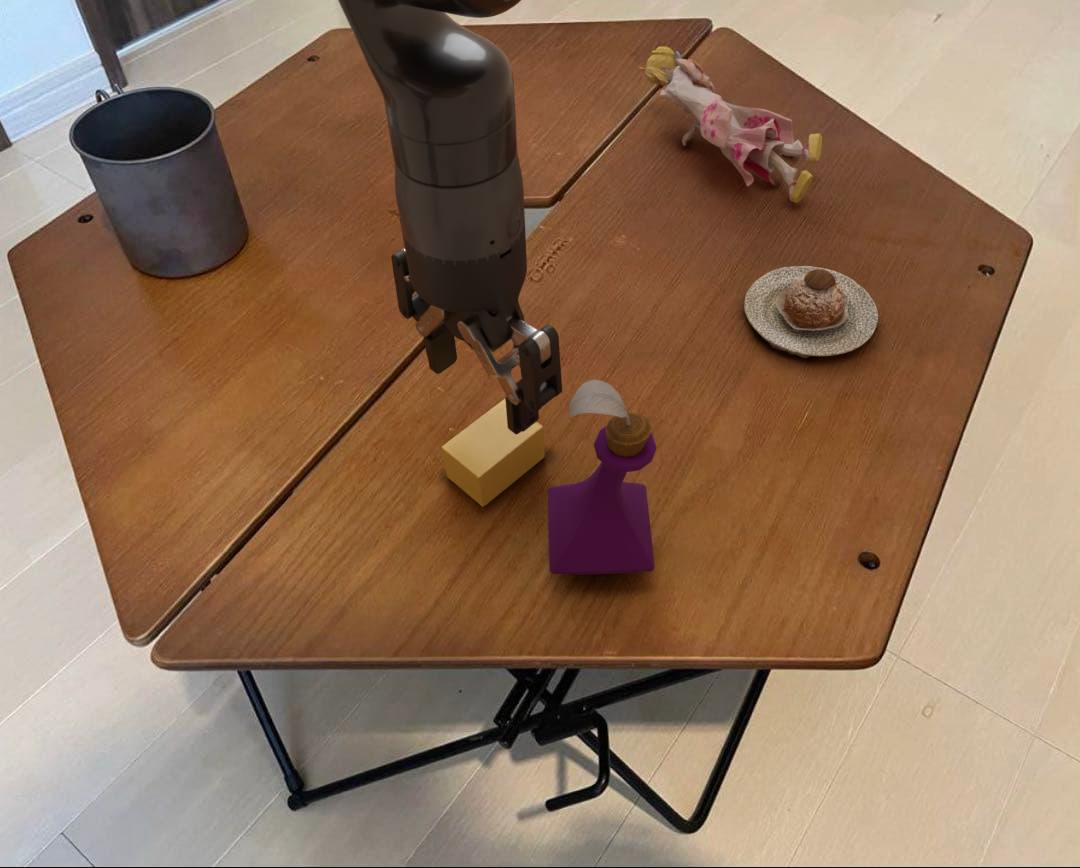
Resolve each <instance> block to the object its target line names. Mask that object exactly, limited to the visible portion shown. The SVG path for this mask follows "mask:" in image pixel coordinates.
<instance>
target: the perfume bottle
mask: <svg viewBox="0 0 1080 868" xmlns="http://www.w3.org/2000/svg"><path fill="white" fill-rule="evenodd" d="M585 414H596V415H604V416H611V417H612V418H610V420H608V422H607V423H606V424H607V425H605V426H604V427H603V428H601V429H600V430H598V433H597V435H596V438H595V440H594V442H593V448H594V451H595V455H596V458H597V460H599V461H600V463H599V465H598V466H597V468H596V469H595V470H594V472H593V473H592V474H591V475H589V477H587V478H586V479H584V480H582V481H578V482H574V483H567V484H560V485H552V486H550V487H548V489H547V490H546V491H547V493H546V494H547V527H548V529H547V531H548V533H547V534H548V566H549V567H548V569H549V572H550V574H552V575H562V576H563V575H564V576H566V575H567V576H591V575H593V576H594V575H623V574H624V575H626V574H635V573H636V574H637V573H647V572H648V573H649V572H653V571H654V570H655V568H656V565H655V557H654V547H653V539H652V537H653V536H652V530H651V519H650V511H649V510H650V509H649V504H648V503H649V501H648V491H647V486H646V485H645V483H638V482H627V481H624V480H625V478H626V476H627V474H628V473H630V472H638V471H641V470H642V469H643V468H645V467H646V466H648V465H649V464H651V463H652V462H653V459H654V456H655V454H656V451H657V444H656V440H655V438H654V435H653V432H652V430H653V425H652V423H651V420H650V419H649V418H648V417H646V416H644V415H643V414H642V413H637V412H630V411H627V410H626V407H625V404H624V401H623V399H622V396H621V394H620V393H619V392H618V391H617V390H616V389H615V388H614V387H613V385H611V384H610V383H607V382H606V381H604V380H601V379H590V380H588V381H586V382H583V383H582V384H581V385H580V386H579V387H578V388H577V390H576V392H575V393H574V395H573V396H572V398H571V400H570V402H569V406H568V415H569V419H570V420H571V419H572V418H574V417H576V416H580V415H585Z"/></svg>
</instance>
